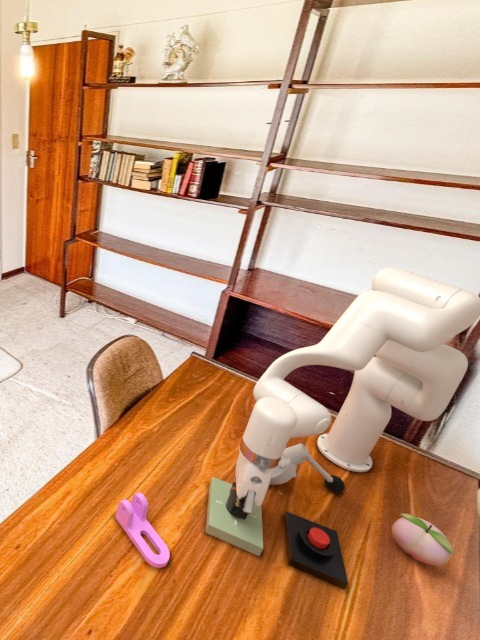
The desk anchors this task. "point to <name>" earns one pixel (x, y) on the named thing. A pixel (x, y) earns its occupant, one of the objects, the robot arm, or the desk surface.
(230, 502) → the dial knob
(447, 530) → the desk surface
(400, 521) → the decorative fruit
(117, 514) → the bracket
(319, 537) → the red button
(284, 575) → the desk surface
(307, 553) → the button block
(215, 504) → the dial panel
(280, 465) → the valve
